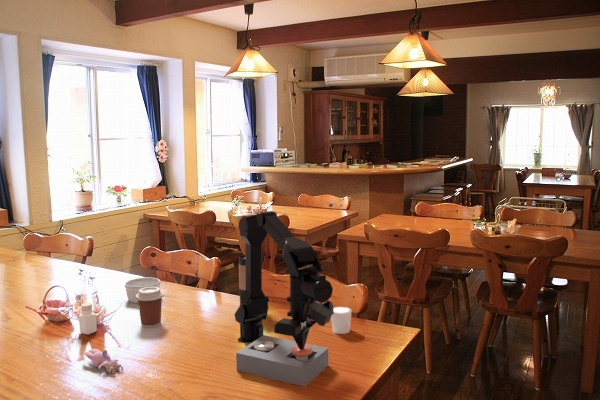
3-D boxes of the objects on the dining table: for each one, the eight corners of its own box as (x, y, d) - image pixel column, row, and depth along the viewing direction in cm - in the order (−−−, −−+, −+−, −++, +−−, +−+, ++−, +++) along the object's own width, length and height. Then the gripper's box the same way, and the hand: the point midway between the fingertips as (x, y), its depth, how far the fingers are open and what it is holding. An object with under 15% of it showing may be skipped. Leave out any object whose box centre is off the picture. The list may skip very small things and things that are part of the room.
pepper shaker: (79, 333, 178) (77, 305, 177) (89, 329, 181) (87, 301, 180) (87, 335, 176) (85, 307, 175) (97, 331, 179) (95, 303, 178)
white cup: (350, 335, 173) (350, 314, 172) (328, 333, 174) (328, 312, 173) (352, 327, 180) (352, 306, 179) (332, 326, 181) (331, 305, 180)
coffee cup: (144, 331, 179) (142, 295, 177) (132, 323, 186) (130, 289, 184) (169, 324, 185) (168, 289, 183) (157, 317, 192) (155, 284, 190)
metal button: (250, 365, 152) (250, 346, 152) (261, 357, 157) (260, 339, 156) (267, 369, 150) (267, 350, 149) (278, 361, 154) (277, 343, 154)
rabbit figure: (128, 374, 151) (96, 353, 160) (129, 354, 150) (96, 334, 158) (108, 382, 146) (76, 360, 155) (109, 362, 145) (76, 341, 153)
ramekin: (146, 291, 222) (145, 275, 221) (168, 297, 214) (167, 280, 213) (118, 300, 211) (117, 283, 210) (140, 306, 203) (139, 288, 202)
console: (236, 370, 149) (236, 352, 149) (264, 351, 162) (263, 335, 161) (304, 386, 139) (304, 368, 139) (328, 365, 152) (328, 348, 151)
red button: (287, 370, 146) (287, 350, 146) (297, 362, 151) (297, 343, 151) (306, 374, 144) (306, 354, 143) (316, 366, 149) (315, 346, 148)
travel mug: (252, 315, 192) (251, 260, 189) (235, 312, 196) (233, 257, 193) (265, 309, 198) (264, 255, 196) (248, 305, 202) (247, 253, 200)
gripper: (311, 307, 133) (312, 368, 135) (343, 287, 149) (343, 341, 151) (272, 301, 138) (273, 360, 140) (306, 282, 154) (307, 335, 156)
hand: (301, 348), depth 147 cm, fingers closed, pressing on red button
